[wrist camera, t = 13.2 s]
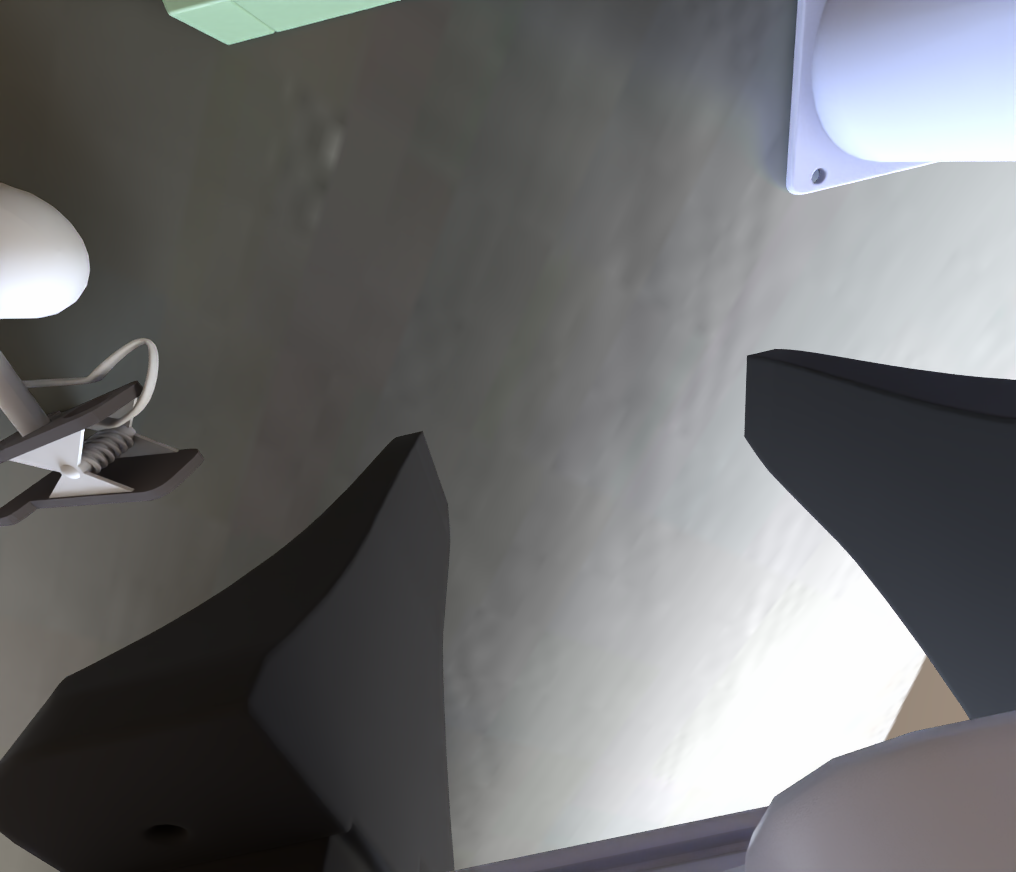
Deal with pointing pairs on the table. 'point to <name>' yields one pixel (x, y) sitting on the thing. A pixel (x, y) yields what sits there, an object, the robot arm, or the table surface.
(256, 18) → the holder
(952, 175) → the table surface
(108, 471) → the clip-on lamp
